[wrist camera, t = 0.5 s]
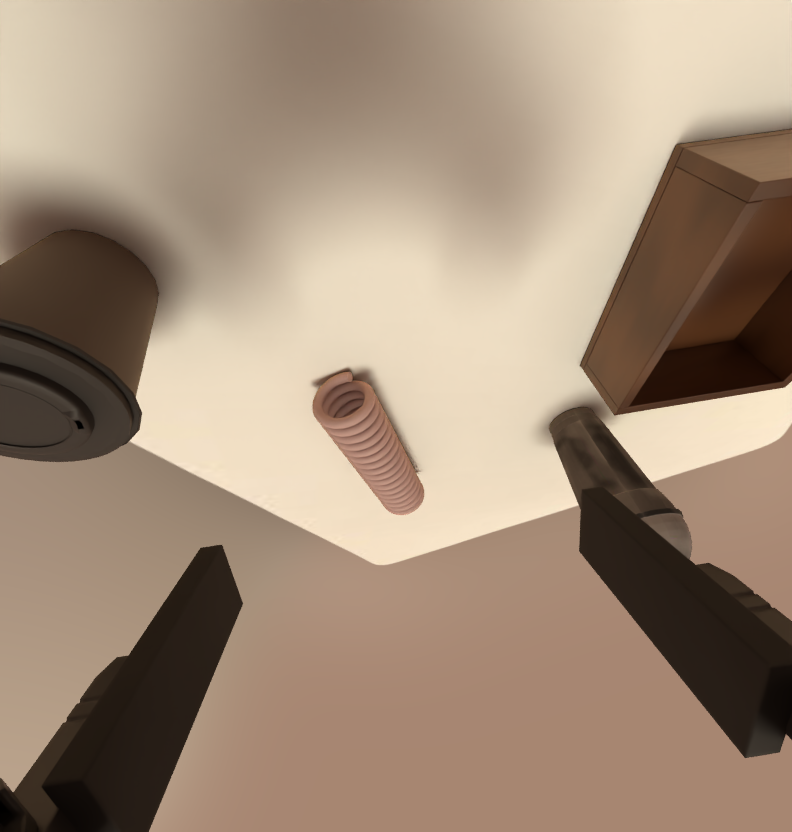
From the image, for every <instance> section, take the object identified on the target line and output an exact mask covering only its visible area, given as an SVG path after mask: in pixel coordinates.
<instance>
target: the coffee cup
mask: <svg viewBox="0 0 792 832" xmlns="http://www.w3.org/2000/svg"><path fill="white" fill-rule="evenodd" d="M158 296H159V292H158V289H157V285H156V282H155V279H154V278H153V276H152V275H151V273H150V271H149V270H148V268H147V267H146V265H144V264H143V263H142V262H141V261H140V260H139V259H138V258H137V257H136V256H135V255H134V254H133V253H132V252H131V251H129V250H127V249H126V248H124V247H123V246H121V245H119V244H118V243H116V242H115V241H113V240H110V239H108V238H105V237H103V236H100V235H97V234H95V233H91V232H84V231H78V230H67V231H60V232H55V233H53V234H51V235H50V236H48V237H46V238H45V239H43V240H41V241H40V242H38V243H36V244H35V245H33V246H32V247H30V248H28V249H27V250H25V251H23V252H22V253H20V254H18V255H17V256H15V257H13V258H12V259H10V260H8V261H7V262H5V263H3V264H2V265H0V455H2V456H6V457H12V458H18V459H25V460H35V461H49V462H68V461H79V460H87V459H91V458H96V457H99V456H103V455H105V454H108V453H110V452H112V451H114V450H116V449H117V448H119V447H120V446H122V445H124V444H126V443H128V442H129V441H130V439H131V438H132V437H133V436H134V435H135V434H136V433H137V432H138V431H139V430H140V423H141V416H142V412H141V409H140V407H139V405H138V402H137V400H136V393H137V389H138V385H139V380H140V376H141V372H142V368H143V363H144V359H145V355H146V351H147V346H148V342H149V338H150V333H151V329H152V325H153V321H154V316H155V312H156V308H157V303H158Z"/></svg>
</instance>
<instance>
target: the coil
mask: <svg viewBox="0 0 792 832" xmlns="http://www.w3.org/2000/svg"><path fill="white" fill-rule="evenodd" d="M352 379H353V376H352V373H351V372H344V373H340V374H337V375H335V376H333V377H331V378H330V379H328V380H327V381H326V382H325V383H324V384H323V385H322V386H321V387H320V388H319V389H318V391H317V393H316V395H315V397H314V400H313V414H314V416H315V418H316V419H317V421H318V422H319V423H320V424H321V425H322V427H323V428H324V429H325V430H326V432H327V433H328V435H329V436H330V437H331V438H332V439H333V441H334V442H335V444H336V445H337V446H338V447H339V449H340V450H341V451H342V452H343V454H344V455H345V457H347V459H348V460H349V462H350V463H351V464H352V465H353V467H354V468H355V469H356V471H357V472H358V473H359V474H360V476H361V477H362V478H363V479H364V481H365V482H366V484H368V486H369V487H370V489H371V490H372V491H373V493H374V494H375V495H376V496H377V497H378V499H379V500H380V501H381V503H382V504H383V505H384V507H385V508H386V509H387V510H388V511H389V512H391V513H393V514H396V515H406V514H409V513H412V512H413V511H415V510H416V509H417V508H418V507H419V506H420V505H421V503H422V501H423V498H424V488H423V485H422V484H421V482H420V480H419V478H418V476H417V474H416V472H415V470H414V468H413V466H412V464H411V462H410V460H409V458H408V456H407V455H406V452H405V451H404V449H403V446H402V445H401V443H400V441H399V439H398V438H397V435H396V433H395V432H394V429H393V427H392V425H391V424H390V421H389V419H388V418H387V416H386V413H385V412H384V411H383V408H382V406H381V404H380V403H379V400H378V398H377V396H376V395H375V393H374V390H373V388H372V387H371V386H370V385H369V384H367V383H366V382H363V381H352Z"/></svg>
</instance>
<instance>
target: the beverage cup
mask: <svg viewBox="0 0 792 832" xmlns="http://www.w3.org/2000/svg"><path fill="white" fill-rule="evenodd" d="M549 430H550V433H551V434H552V438H553V440H554V445H555V447H556V450H557V452H558V455H559V457H560V460H561V462H562V464H563V467H564V469H565V472H566V474H567V477H568V479H569V482H570V484H571V487H572V489H573V492H574V494H575V497H576V499H577V502H578V504H579V507H580V509H581V493H582V489H588V488H594V487H601V486H603V487H604V488H605V489H606V490H607V491H608V492H610V493H611V494H612V495H613V496H614V497H616V498H617V499H618V500H619V501H620V502H622V503H623V504H624V505H625V506H626V507H627V508H629V509H630V510H631V511H632V512H633V513H635V514H636V515H637V516H638V517H639V518H641V519H642V520H643V521H644V522H645V523H646V524H648V525H649V526H650V527H651V528H652V529H654V530H655V531H656V532H657V533H658V534H660V535H661V536H662V537H663V538H664V539H665V540H667V541H668V542H669V543H670V544H671V545H673V546H674V547H675V548H676V549H677V550H679V551H680V552H681V553H682V554H683V555H684V556H686V557H687V558H688V559H690V556H691V550H692V540H691V535H690V532H689V529H688V527H687V524H686V523H685V521H684V519H683V515H682V512H681V511H680V510H679V509H676V508H675V507H674V505H673V504H672V503H671V502H670V501H669V500H668V499H667V498H666V497H665V496H664V495H663V494H662V493H661V492H660V491H659V490H658V489H656V488H655V487H654V485H653V484H652V483H651V482H650V480H649V479H648V478H647V477H646V475H645V474H644V473H643V472H642V470H641V469H640V468H639V467H638V465H637V464H636V463H635V462H634V460H633V459H632V458H631V457H630V455H629V454H628V453H627V452H626V451H625V449H624V448H623V447H622V446H621V444H620V443H619V442H618V441H617V439H616V438H615V437H614V436H613V434H612V433H611V432H610V431H609V429H608V428H607V427H606V426H605V424H604V423H603V422H602V421H601V420H600V419H599V418H598V417H597V416H596V415H595V414H594V412H593V411H592V410H591V409H589V408H586V407H579V408H575V409H571V410H569V411H566V412H564V413H562V414H561V415H559V416H558V417H556V418H555V419H554V420H553V421H552V423H551V424H550V427H549Z"/></svg>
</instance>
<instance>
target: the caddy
mask: <svg viewBox="0 0 792 832" xmlns="http://www.w3.org/2000/svg"><path fill="white" fill-rule="evenodd" d="M580 366H581V367H582V369H583V370H584V372H585V373H586V375H587V376H588V378H589V379H590V381H591V382H592V384H593V385H594V386H595V388H596V389H597V391H598V392H599V394H600V395H601V396H602V398H603V399H604V401H605V402H606V404H607V405H608V407H609V408H610V409H611V411H612V412H613V414H614V415H620V414H626V413H632V412H638V411H644V410H650V409H656V408H662V407H668V406H674V405H680V404H687V403H693V402H699V401H705V400H711V399H717V398H723V397H729V396H735V395H741V394H747V393H753V392H760V391H766V390H772V389H778V388H784V387H786V386H787V385H788V384H789V383H790V382H791V381H792V129H789V130H782V131H774V132H767V133H760V134H752V135H745V136H737V137H730V138H723V139H715V140H708V141H700V142H693V143H686V144H678V145H676V147H675V149H674V152H673V154H672V156H671V159H670V161H669V163H668V165H667V168H666V170H665V172H664V175H663V177H662V179H661V181H660V184H659V186H658V188H657V191H656V193H655V195H654V198H653V200H652V202H651V204H650V207H649V209H648V211H647V214H646V216H645V218H644V220H643V223H642V225H641V227H640V230H639V232H638V234H637V237H636V239H635V241H634V243H633V246H632V248H631V250H630V253H629V255H628V257H627V259H626V262H625V264H624V266H623V269H622V271H621V273H620V276H619V278H618V280H617V282H616V285H615V287H614V289H613V292H612V294H611V296H610V298H609V301H608V303H607V305H606V308H605V310H604V312H603V315H602V317H601V319H600V321H599V324H598V326H597V328H596V331H595V333H594V335H593V337H592V340H591V342H590V344H589V347H588V349H587V351H586V354H585V356H584V358H583V360H582V363H581V365H580Z"/></svg>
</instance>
